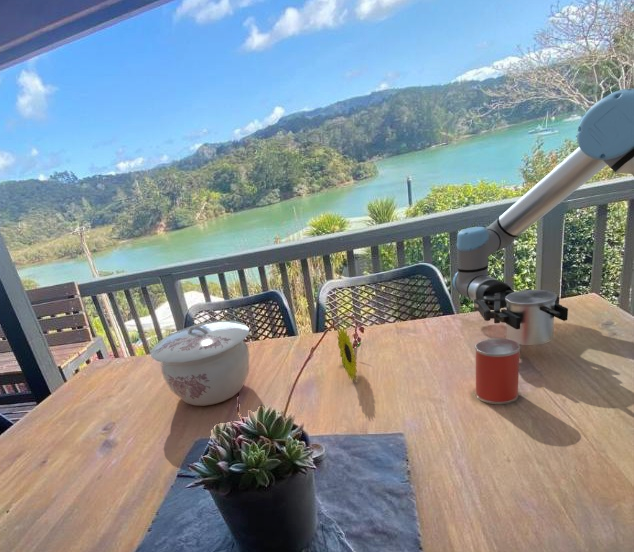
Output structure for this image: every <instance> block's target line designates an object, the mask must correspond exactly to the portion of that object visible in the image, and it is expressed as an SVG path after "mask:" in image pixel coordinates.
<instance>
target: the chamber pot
mask: <svg viewBox="0 0 634 552" xmlns="http://www.w3.org/2000/svg"><path fill="white" fill-rule="evenodd" d="M249 334H250V327H248V325H247V324H246V323H243V322H241V321H238V320H215V321H208V322H203V323H197V324H194V325H191V326H186V327H184V328H181V329H179V330H176V331H175V332H170V333H169V334H167V336H165V337H163V338H161V339H160V340H158V341H157V342H156V343H155V344H154V346H152V348H151V350H150V351H149V353H150V357H151V359H153V360H155V361H156V362H159V363H160V370H161V374H162V377H163V380H164V381H165V383H166V385H167V387H168V388H169V390H170V392H171V393H173V394H174V395H175V396H177V397H178V398H179V399H181V400H182V401H183V402H185V403H186V404H188V405H193V406H197V407H198V406H199V407H206V406H212V405H216V404H219V403H222V402H225V401H227V400H229V399H231V398H233V397H234V396H236V395H237V394H238V393H240V391H241V390H242V388H243V387H244V386H245V383H246V380H247V378H248V375H249V373H250V350H249V345H248V344H247V343H246V341H244V340H245V339H246V338H247V337H248V336H249Z"/></svg>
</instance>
